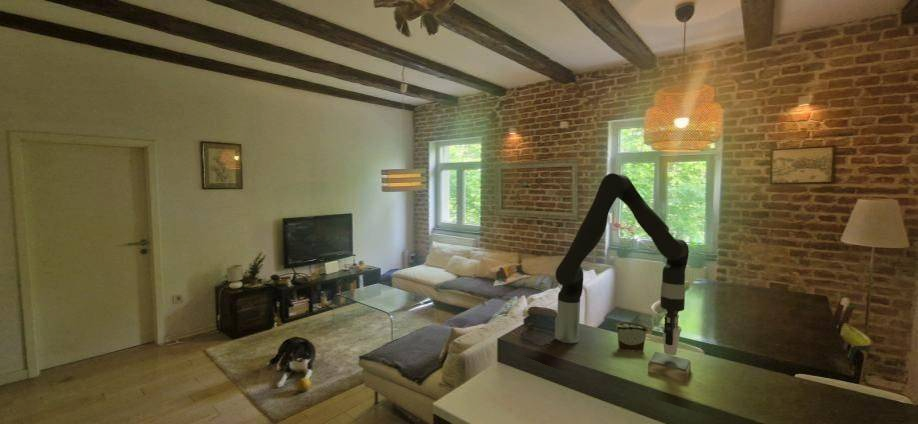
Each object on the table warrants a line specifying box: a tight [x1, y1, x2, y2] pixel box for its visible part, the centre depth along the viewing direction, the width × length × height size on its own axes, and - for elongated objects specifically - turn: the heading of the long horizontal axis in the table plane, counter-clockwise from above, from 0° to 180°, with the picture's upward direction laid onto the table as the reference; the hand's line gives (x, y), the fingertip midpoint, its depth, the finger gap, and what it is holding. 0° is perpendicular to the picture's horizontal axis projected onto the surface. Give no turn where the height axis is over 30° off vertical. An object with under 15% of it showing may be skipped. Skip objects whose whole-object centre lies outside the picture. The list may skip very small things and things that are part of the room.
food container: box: [615, 321, 649, 352], centre depth 160 cm, size 12×6×10 cm, turn 84°
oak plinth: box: [647, 351, 692, 383], centre depth 139 cm, size 12×11×4 cm
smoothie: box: [660, 323, 683, 356], centre depth 138 cm, size 6×6×14 cm
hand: (670, 341), depth 139 cm, fingers closed on smoothie, 6 cm apart
